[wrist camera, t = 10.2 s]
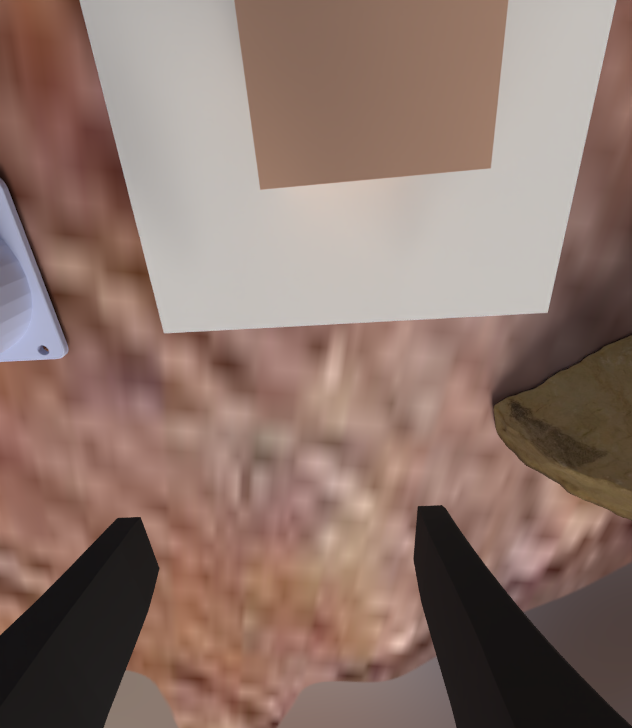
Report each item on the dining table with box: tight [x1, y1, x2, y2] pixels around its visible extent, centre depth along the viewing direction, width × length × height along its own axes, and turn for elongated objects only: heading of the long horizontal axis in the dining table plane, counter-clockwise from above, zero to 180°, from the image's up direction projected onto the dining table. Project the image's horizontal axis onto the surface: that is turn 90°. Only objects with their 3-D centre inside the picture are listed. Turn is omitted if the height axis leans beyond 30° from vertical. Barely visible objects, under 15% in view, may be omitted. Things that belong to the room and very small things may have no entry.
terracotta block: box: [234, 0, 508, 190], centre depth 9 cm, size 4×4×6 cm
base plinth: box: [80, 0, 616, 333], centre depth 13 cm, size 15×15×3 cm
